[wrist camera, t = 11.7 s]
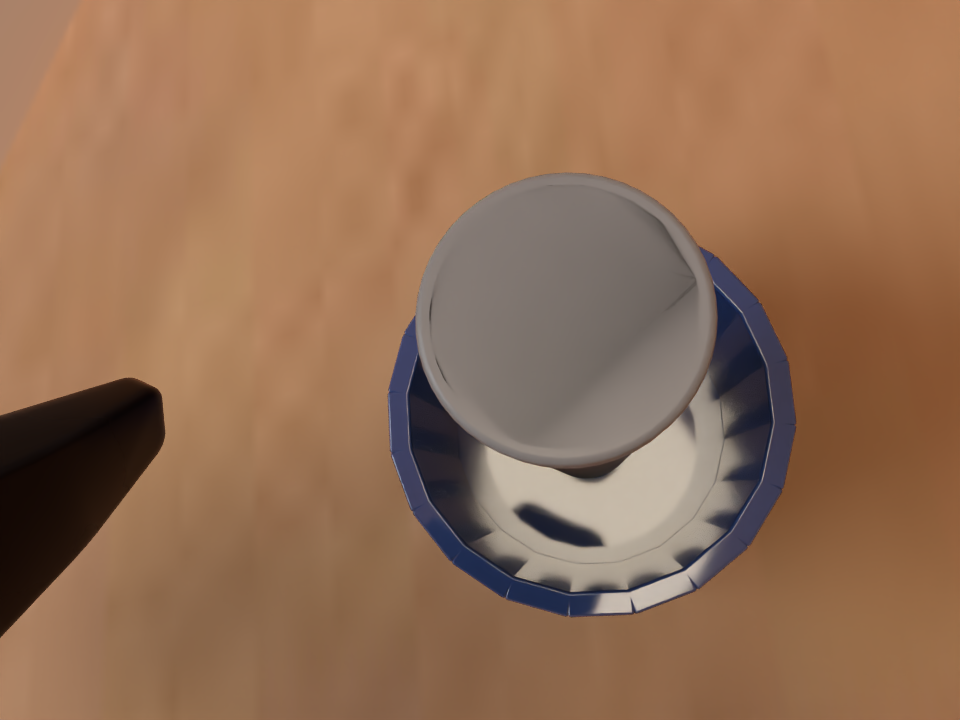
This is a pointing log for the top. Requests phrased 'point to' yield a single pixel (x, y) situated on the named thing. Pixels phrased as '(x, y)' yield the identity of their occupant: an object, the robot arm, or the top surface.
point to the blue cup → (609, 483)
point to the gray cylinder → (566, 321)
